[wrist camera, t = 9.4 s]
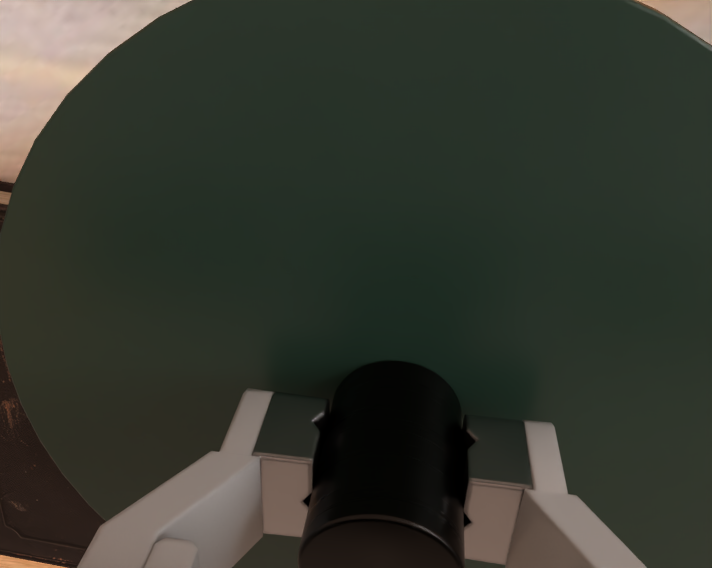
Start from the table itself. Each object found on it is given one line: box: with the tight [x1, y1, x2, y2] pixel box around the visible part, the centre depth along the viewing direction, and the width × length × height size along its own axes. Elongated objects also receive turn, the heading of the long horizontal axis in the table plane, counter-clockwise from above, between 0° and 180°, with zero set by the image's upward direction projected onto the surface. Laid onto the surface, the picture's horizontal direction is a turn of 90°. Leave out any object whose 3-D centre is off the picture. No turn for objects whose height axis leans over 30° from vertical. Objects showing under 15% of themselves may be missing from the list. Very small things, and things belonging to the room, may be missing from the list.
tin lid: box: [0, 0, 712, 568], centre depth 11 cm, size 15×15×5 cm
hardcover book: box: [0, 181, 106, 568], centre depth 33 cm, size 16×23×2 cm
